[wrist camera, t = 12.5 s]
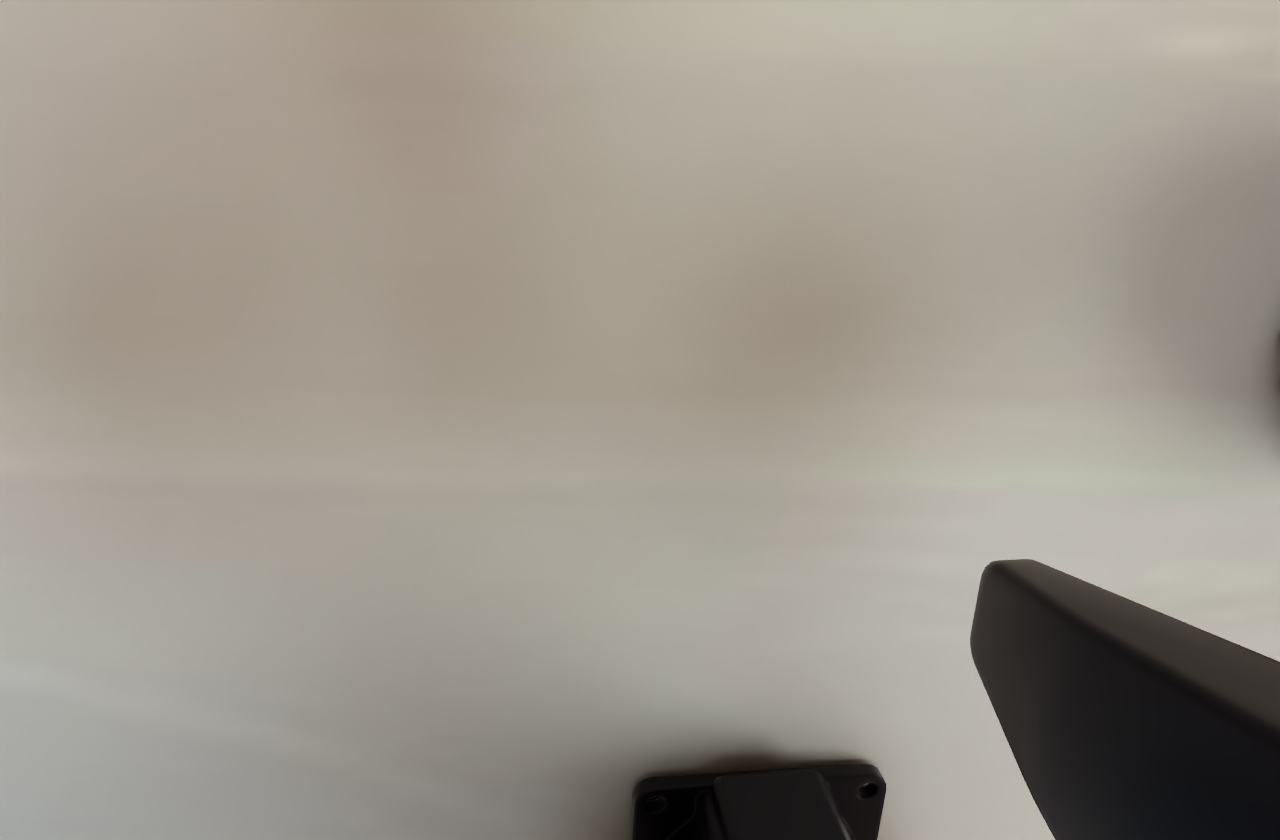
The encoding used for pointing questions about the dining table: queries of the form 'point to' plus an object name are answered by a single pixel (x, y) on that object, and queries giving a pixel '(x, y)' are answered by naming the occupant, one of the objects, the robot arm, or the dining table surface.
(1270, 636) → the dining table surface
